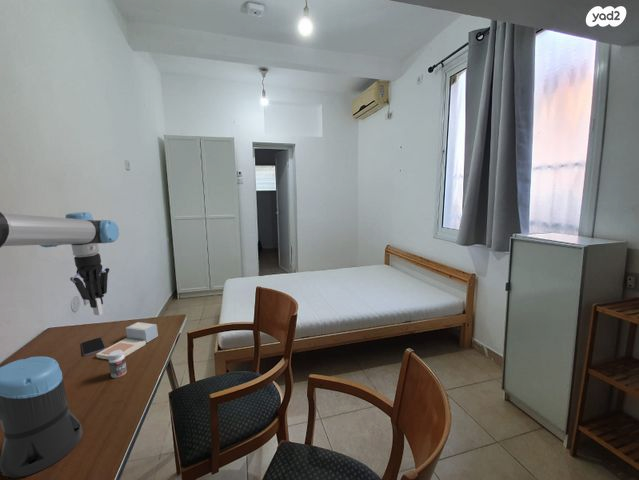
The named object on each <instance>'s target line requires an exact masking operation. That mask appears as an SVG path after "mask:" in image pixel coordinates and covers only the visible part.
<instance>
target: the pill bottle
mask: <svg viewBox="0 0 639 480" xmlns="http://www.w3.org/2000/svg"><path fill="white" fill-rule="evenodd" d="M109 358H110V359H109V360H108V366H109V373H110V377H111V378H113V379H116V378H120V377H122V376H125V375H126V373H127V370H128V369H127V364H126V356H125V357H124V355H123V352H122V350H115V351H113V352H111V353H110V354H109Z"/></svg>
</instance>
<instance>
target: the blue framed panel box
mask: <svg viewBox="0 0 639 480" xmlns="http://www.w3.org/2000/svg"><path fill="white" fill-rule="evenodd" d="M125 332H126V338H129V339H136V340H144V341H146V344H147V343H149V342H151V341H152V340H154V339H156V338H157V337H159V332H158V324H156V323H149V322H148V323H147V322H141V321H140V322H139V321H137V322H135V323H133V324H130V325H129V326H127V327H125Z"/></svg>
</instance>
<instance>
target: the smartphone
mask: <svg viewBox="0 0 639 480" xmlns="http://www.w3.org/2000/svg"><path fill="white" fill-rule="evenodd" d="M80 345H81V349H82V354H83V357H87V356H90V355H94V354H97V353H99V352H101V351H103V350H105V349H106V346H105V343H104V341H103V339H102V337H97V338H93V339H90V340H86V341H83V342H81V343H80Z"/></svg>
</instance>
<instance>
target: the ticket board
mask: <svg viewBox="0 0 639 480" xmlns="http://www.w3.org/2000/svg"><path fill="white" fill-rule="evenodd" d="M145 345H147V343H146V341H144V340H136V339H129V338H127V337H126V338H123V339H121V340H119V341H118V342H116V343H114V344H112V345H110V346H109V347H105V350H103V351H100V352H97V353H95V356H96V358H97V359H98V358H99V359H102V360H104V359H105V360H108V361H109V359H110V358H109V354H110V353H111V352H113V351H115V350H122V352H123V355H124V357H125V358H126V357H127V356H129V355H131V354H132V353H133V352H136V351H137V350H138V349H140V348H142V347H144V346H145Z"/></svg>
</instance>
